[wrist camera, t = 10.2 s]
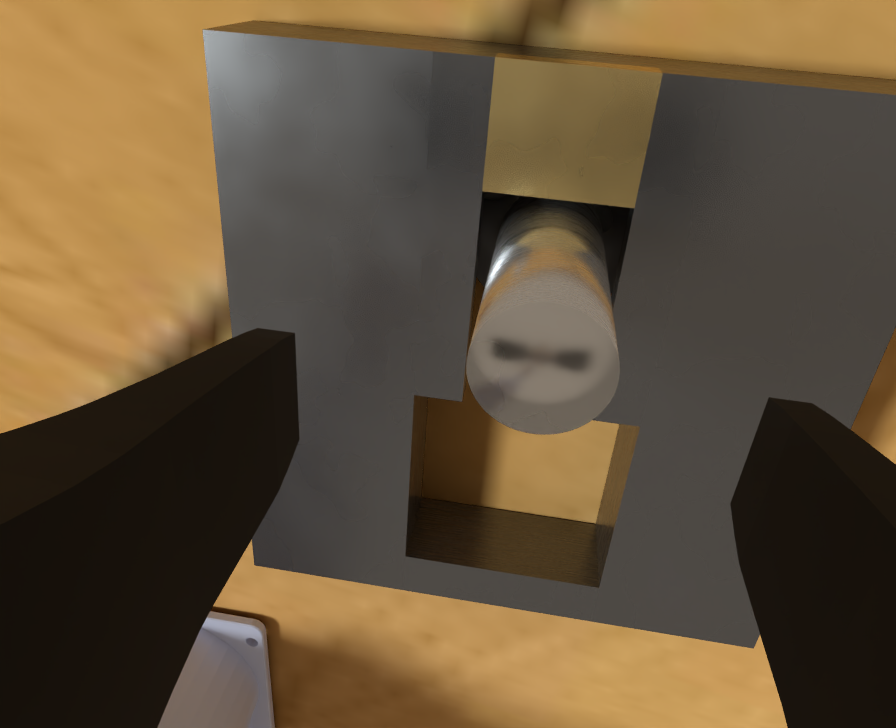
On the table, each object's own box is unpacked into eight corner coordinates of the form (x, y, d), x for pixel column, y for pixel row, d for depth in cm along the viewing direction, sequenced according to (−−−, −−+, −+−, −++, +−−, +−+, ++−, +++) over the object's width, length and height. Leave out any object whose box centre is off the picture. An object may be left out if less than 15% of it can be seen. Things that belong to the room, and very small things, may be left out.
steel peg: (621, 304, 20) (650, 486, 13) (466, 291, 20) (414, 460, 13) (648, 144, 17) (700, 261, 11) (473, 133, 18) (415, 239, 11)
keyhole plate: (734, 579, 24) (753, 648, 22) (284, 508, 25) (254, 565, 23) (929, 83, 16) (994, 103, 14) (253, 20, 17) (202, 29, 15)
